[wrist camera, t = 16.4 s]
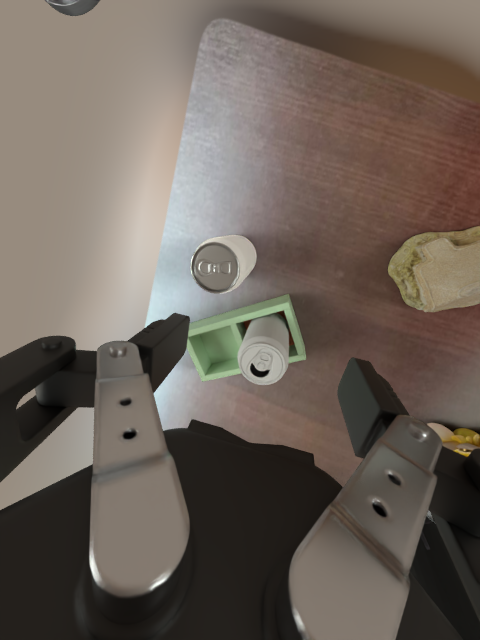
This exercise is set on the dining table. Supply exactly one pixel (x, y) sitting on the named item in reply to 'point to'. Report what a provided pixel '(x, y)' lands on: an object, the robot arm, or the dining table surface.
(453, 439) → the decorative flower
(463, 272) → the ceramic model
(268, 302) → the cup holder
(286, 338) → the beverage can
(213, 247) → the can
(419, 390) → the dining table surface
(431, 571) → the portable speaker
